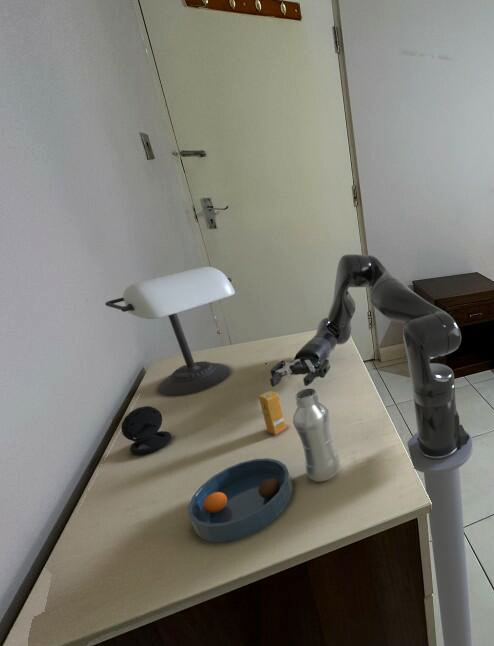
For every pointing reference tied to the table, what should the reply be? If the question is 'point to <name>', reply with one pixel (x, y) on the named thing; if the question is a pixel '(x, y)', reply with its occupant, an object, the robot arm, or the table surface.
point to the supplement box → (272, 412)
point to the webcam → (145, 430)
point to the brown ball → (269, 488)
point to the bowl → (240, 500)
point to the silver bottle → (315, 436)
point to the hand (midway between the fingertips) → (288, 383)
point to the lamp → (168, 300)
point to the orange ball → (215, 502)
